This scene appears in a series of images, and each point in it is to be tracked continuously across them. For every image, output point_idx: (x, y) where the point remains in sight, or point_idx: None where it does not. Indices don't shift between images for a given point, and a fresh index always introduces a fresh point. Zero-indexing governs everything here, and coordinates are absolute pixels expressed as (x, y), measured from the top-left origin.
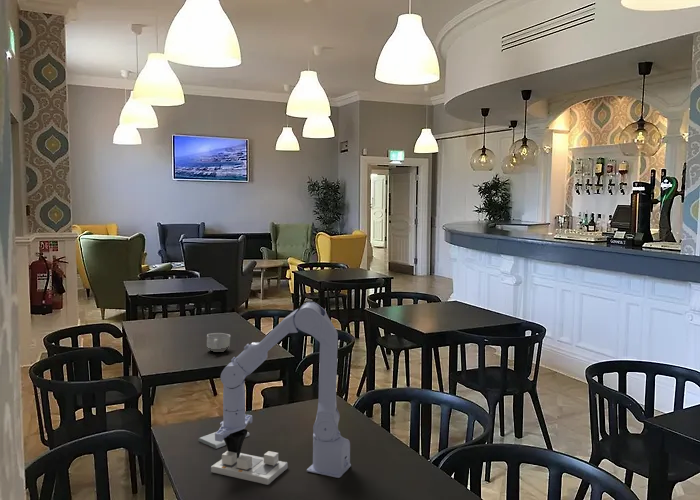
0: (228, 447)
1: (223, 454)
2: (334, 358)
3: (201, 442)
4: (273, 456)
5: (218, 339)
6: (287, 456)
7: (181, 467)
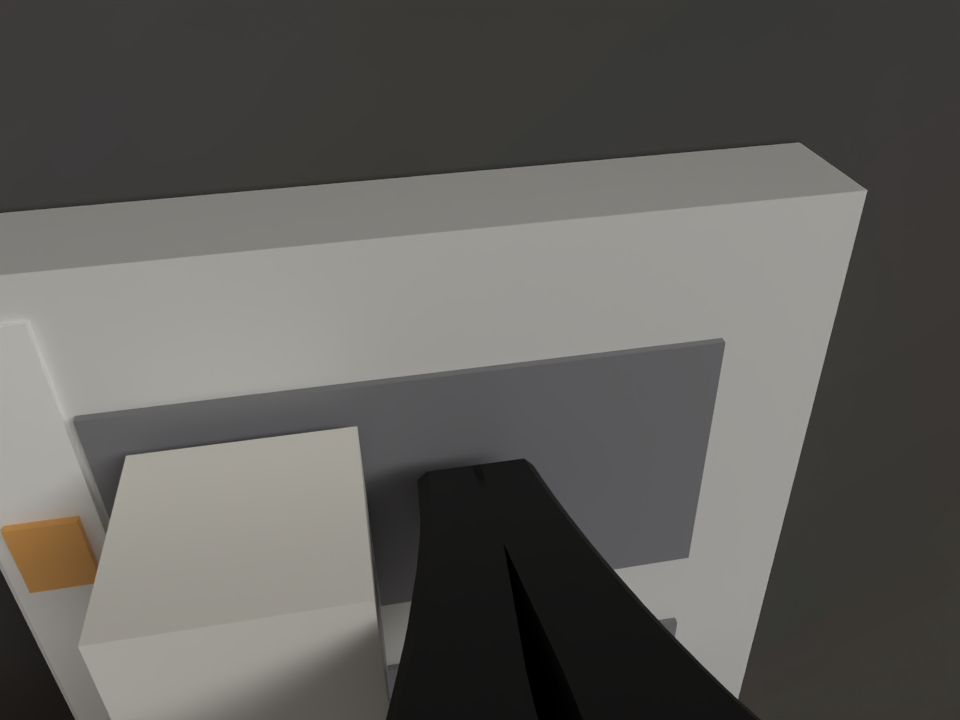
0: (412, 712)
1: (113, 673)
2: None
3: None
4: None
5: None
6: (944, 706)
7: None
